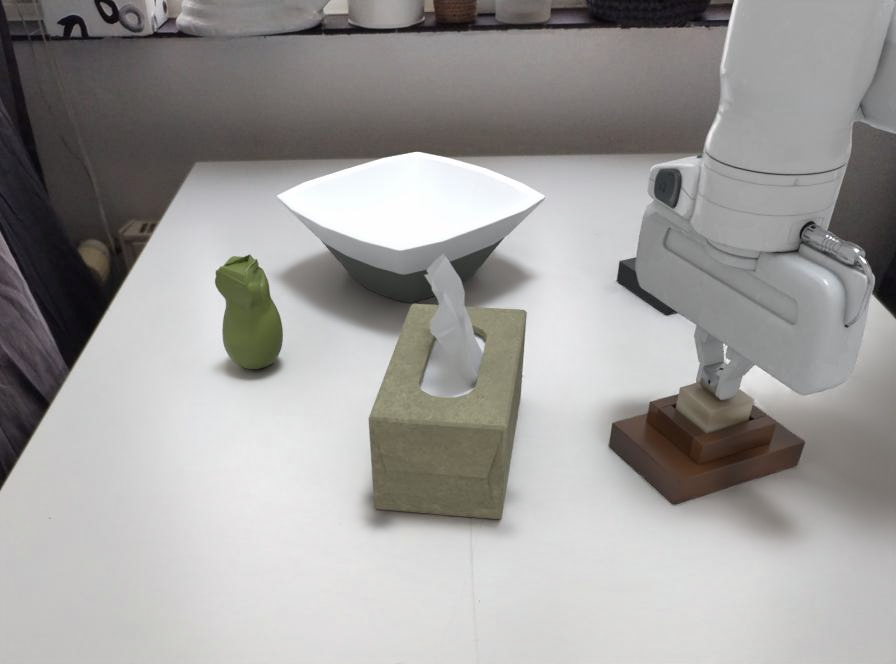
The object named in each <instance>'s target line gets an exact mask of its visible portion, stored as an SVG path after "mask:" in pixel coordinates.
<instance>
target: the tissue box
mask: <svg viewBox="0 0 896 664" xmlns="http://www.w3.org/2000/svg"><path fill="white" fill-rule="evenodd" d="M426 271H427V272H428V274H426V275H425V277H426V279H427V280H428V282H429V283H430V285H431V286H432V291H433V293H434V294H435V295H434V296H435V298H436V299H437V302H438V304H428V303H426V304H425V303H412V304H411V305H410V306H409V309H408V312H407V315H406V317H405V320H404V323H403V325H402V327H401V330H400V333H399V335H398V339H397V341H396V343H395V347H394V349H393V352H392V355H391V357H390V360H389V362H388V365H387V368H386V371H385V373H384V376H383V379H382V382H381V384H380V387H379V389H378V392H377V395H376V398H375V400H374V402H373V405H372V408H371V410H370V414H369V416H368V432H369V434H368V435H369V449H370V463H371V477H372V492H373V494H372V495H373V507H374V508H375V509H376V510H384V511H393V512H405V513H406V512H407V513H418V514H429V515H441V516H452V517H465V518H478V519H488V520H489V519H490V520H500V519H502V518H503V513H504V505H505V499H506V493H507V488H508V487H507V486H508V480H509V473H510V466H511V461H512V456H513V455H512V454H513V448H514V441H515V436H516V435H515V434H516V430H517V429H516V428H517V422H518V416H519V409H520V404H521V397H522V386H523V370H524V356H525V342H526V329H527V328H526V327H527V316H528V313H527V311H526V310H525V309H519V308H502V307H501V308H500V307H499V308H498V307H481V306H480V307H479V306H466V305H465V296H466V295H465V289H464V286H463V283H462V281H461V279H460V277H459V276H458V274H457V273H456V271H455V270H454V268H453V267H452V265H451V264H450V262H449V261H448V259H447V258H446V256H445V255H444V254H442V255H441V256H440V257H439V258H437V259H436V260H435V261H434V262H433V263H432V264H431V266H430V267H429V268H428V269H427V270H426Z"/></svg>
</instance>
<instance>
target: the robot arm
mask: <svg viewBox="0 0 896 664" xmlns="http://www.w3.org/2000/svg"><path fill="white" fill-rule="evenodd" d="M720 58H721V59H720V64H719V75H718V76H719V89H720V90H719V102H718V106H717V111H716V114H715V117H714V119H713V122H712V124H711V125H710V128H709V130H708V132H707V135H706V137H705V140H704V145H703V150H702V154H698V155H691V156H687V157H682V158H681V157H680V158H677V159H673V160H668V161H664V162H661V163H656V164H654V165H653V166H651V168H650V169H649V172H648V176H647V177H648V178H647V184H646V185H647V187H646V188H647V194H648V196H649V197H650V198H651V200H650V201H649V202H648V203H647V205H646V206H645V209H644V212H643V215H642V219H641V225H640V229H639V235H638V240H637V241H638V242H637V250H636V254H635V257H636V264H635V270H636V274H637V279H638V282H639V285H640V287H641V288H642V289H644V290H645V291H647V292H648V293H650V294H651V295H653V296H654V297H656V298H657V299H659V300H660V301H662V302H663V303H665V304H666V305H667V306H669V307H670V308H672V309H673V310H675V311H676V313H678V314H679V315H680V316H682V317H684V318H685V319H686V320H688V321H690V322H691V323H692V324H694V325H695V329H694V333H693V339H694V343H695V344H694V345H695V349H696V355H697V361H698V363H699V365H698V368H697V374H696V377H695V383H699V384H700V385H701V386H702V387H704V388H705V389H707V390H708V391H710V392H711V393H712V394H714V395H715V396H716V397H717V398H719V399H720V400H725V399H729V398H733V397H734V396H736V395H737V393H738V391H739V389H741V388H740V387H741V383H742V381H743V377H744V376H746V375H747V374H748V372H749V371H751V370H752V369H753V368H754V367H755V366H756V367H758V368H759V369H761V370H762V371H763V372H765V373H767V374H768V375H769V376H771V377H772V378H774V379H775V380H777V381H778V382H779V383H782V384H783V385H784V386H786V387H787V388H789V389H790V390H791V391H793V392H794V393H796V394H798V395H799V396H810V395H814V394H818V393H822V392H825V391H828V390H831V389H835V388H836V387H838V386H841V385H842V384H843V383H845V382H847V381H848V380H849V379H850V378H851V376H852V374H853V372H854V369H855V367H856V363H857V360H858V356H859V353H860V349H861V345H862V341H863V338H864V332H865V329H866V323H867V318H868V314H869V308H870V300H871V298H872V297H871V296H872V294H873V292H874V288H875V283H876V276H875V275H874V273H873V272H872V268H871V265H870V264H869V261H868V260H867V259H866V251H865V250H864V248H862V247H860V246H859V245H858V244H856V243H854V242H851V241H846V240H844V239H841V238H840V237H838V236H837V235H835V233H833V232H831V231H829V228H830V227H829V226H830V223H831V219H832V217H833V213H834V210H835V206H836V203H837V200H838V197H839V194H840V190H841V187H842V184H843V180H844V177H845V174H846V171H847V167H848V164H849V160H850V158H851V153H852V149H853V148H852V147H853V128H854V123H856V122H861V123H865V124H868V125H869V126H870V127H873V128H874V129H878V130H881V131H884V132H888V133H891V134H895V135H896V0H733V3H732V7H731V11H730V15H729V19H728V24H727V28H726V34H725V38H724V43H723V48H722V53H721V57H720ZM724 345H725V346H727V348H726V351H724V350H725V349H724V347H725V346H724ZM725 358H726V359H727V360H729V361H728V363H727V362H726V361H725Z"/></svg>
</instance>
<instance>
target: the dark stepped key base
mask: <svg viewBox="0 0 896 664" xmlns="http://www.w3.org/2000/svg"><path fill="white" fill-rule="evenodd" d="M635 264H636V256H635V257H630V258H625V259H622V260H621V259H620V260H619V262H618V268H617V275H616V282H617V283H619V284H620V285H621V286H623V287H625V288H626V289H628V291H630V292H632V293H633V294H634V295H636V296H638V297H639V298H640V299H642V301H644V302H645V303H648V304H649V305H651V306H652V307H654V309H657V310H658V311H659V312H660V313H662V314H664V315H665V316H668V315H671V314H675V313H677V312H676V311H675V310H673V309H672V308H670V307H669V306H667V305H666V304H665V303H663V302H662V301H660V300H659V299H657V298H656V297H654V296H653V295H651V294H650V293H648V292H647V291H645V290H644V289H642V288H641V287H640V285H639V282H638V279H637V274H636V270H635Z"/></svg>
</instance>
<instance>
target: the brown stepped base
mask: <svg viewBox="0 0 896 664" xmlns="http://www.w3.org/2000/svg"><path fill="white" fill-rule="evenodd" d="M678 395H679V393H676V394H672V395H669V396H666V397H665V396H664V397H662V398H658V399H654V400H650V401H649V404H648V410H647V412H644V413H642V414H639V415H635V416H631V417H628V418H624V419H621V420H616V421H613V422H612V423H611V429H610V434H609V440H608V447H610V449H611V450H613V451H614V452H615V453H616V454H617V455H618V456H620V458H622V459H623V460H624V461H625V462H626V463H627V464H628V465H630V467H631V468H633V469H634V471H636V472H637V473H638V474H639V475H641V477H643V478H644V479H645V480H646V481H647V482H648V483H649V484H650V485H651V486H652V487H653V488H655V489H656V490H657V491H658V492H659V493H660V494H661V495H663V497H665V498H666V500H668V501H669V502H670V503H671V505H676V504H680V503H683V502H686V501H688V500H692V499H696V498H698V497H702V496H705V495H707V494H711V493H714V492H717V491H720V490H724V489H727V488H730V487H733V486H737V485H739V484H743V483H746V482H749V481H753V480H755V479H759V478H762V477H765V476H768V475H771V474H774V473H777V472H780V471H784V470H787V469H790V468H794V467H797V466H798V465H799V462H800V461H801V460H800V459H801V457H802V453H803V451H804V448H805V444H806V441H805V440H804V439H802V438H801V437H799V436H798V435H797V434H795V433H794V432H792V431H791V430H789V429H788V428H787V427H786V426H784V425H783V424H781V423H780V422H778V421H777V420H776V419H775V418H773V417H771V416H770V415H769V414H767V413H766V412H765V411H763V410H762V409H760V408H759V407H757V405H755V404H753V406H752V410H751V413H750V417H749V420H748V421H747V422H744V423H741V424H737V425H734V426H730V427H727V428H724V429H720V430H717V431H713V432H710V433H705V432H704V431H703V430H701V429H700V428H699V427H698V426H696V425H695V424H694V423H693V422H691V421H690V420H689V419H688V418H686V417H685V416H684V415H682V414H681V413H680V412H679V411H677V410H676V404H677V399H678Z"/></svg>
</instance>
